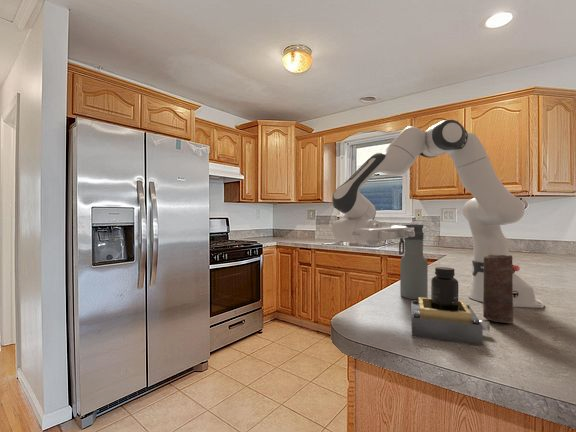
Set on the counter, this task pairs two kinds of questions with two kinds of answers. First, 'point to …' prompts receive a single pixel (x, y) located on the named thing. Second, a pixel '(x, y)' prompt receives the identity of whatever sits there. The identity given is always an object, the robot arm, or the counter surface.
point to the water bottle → (413, 266)
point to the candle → (498, 288)
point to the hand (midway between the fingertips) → (404, 234)
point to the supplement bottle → (444, 290)
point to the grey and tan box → (446, 323)
